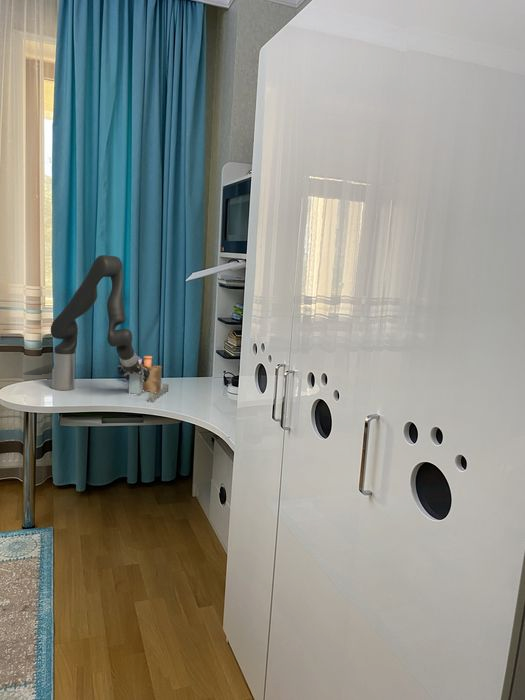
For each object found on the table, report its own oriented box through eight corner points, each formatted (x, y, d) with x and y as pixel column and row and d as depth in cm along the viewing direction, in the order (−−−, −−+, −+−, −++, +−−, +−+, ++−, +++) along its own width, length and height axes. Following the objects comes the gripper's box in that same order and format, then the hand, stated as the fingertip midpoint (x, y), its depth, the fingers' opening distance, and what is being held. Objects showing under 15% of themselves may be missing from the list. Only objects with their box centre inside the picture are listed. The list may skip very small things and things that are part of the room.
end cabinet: (131, 390, 288) (132, 366, 286) (137, 387, 295) (138, 363, 293) (155, 393, 286) (156, 368, 284) (160, 389, 293) (161, 366, 291)
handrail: (148, 401, 269) (148, 393, 268) (163, 391, 291) (163, 383, 290) (153, 402, 269) (153, 393, 268) (168, 392, 290) (168, 384, 290)
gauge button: (141, 373, 288) (142, 356, 286) (144, 372, 292) (145, 355, 290) (149, 374, 287) (150, 357, 286) (152, 372, 291) (153, 356, 290)
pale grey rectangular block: (128, 394, 280) (128, 373, 278) (132, 392, 285) (133, 371, 284) (139, 395, 279) (139, 374, 277) (143, 393, 284) (144, 372, 283)
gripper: (146, 354, 270) (153, 374, 283) (116, 351, 272) (125, 371, 285) (141, 368, 266) (149, 387, 279) (111, 364, 268) (120, 384, 281)
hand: (137, 379), depth 282 cm, fingers open, 8 cm apart
